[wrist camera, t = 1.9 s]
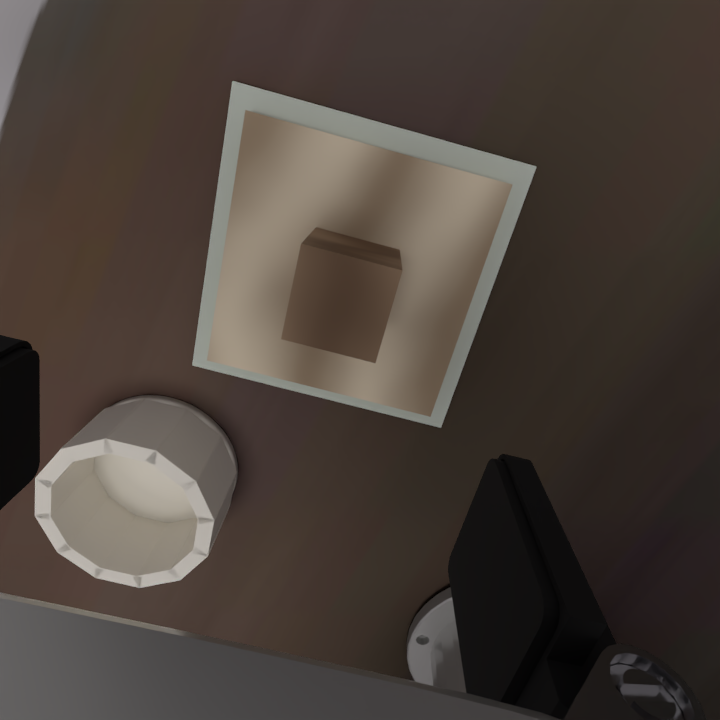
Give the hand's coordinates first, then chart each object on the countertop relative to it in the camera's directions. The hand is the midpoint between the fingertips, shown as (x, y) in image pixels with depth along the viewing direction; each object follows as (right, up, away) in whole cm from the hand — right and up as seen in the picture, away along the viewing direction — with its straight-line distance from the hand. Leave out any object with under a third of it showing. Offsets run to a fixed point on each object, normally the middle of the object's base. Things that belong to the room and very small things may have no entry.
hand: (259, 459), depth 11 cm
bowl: (-10, -4, +20) cm, 23 cm away
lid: (+2, +6, +15) cm, 16 cm away
